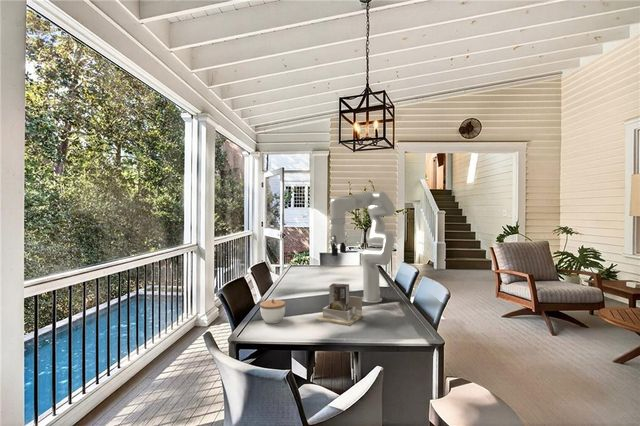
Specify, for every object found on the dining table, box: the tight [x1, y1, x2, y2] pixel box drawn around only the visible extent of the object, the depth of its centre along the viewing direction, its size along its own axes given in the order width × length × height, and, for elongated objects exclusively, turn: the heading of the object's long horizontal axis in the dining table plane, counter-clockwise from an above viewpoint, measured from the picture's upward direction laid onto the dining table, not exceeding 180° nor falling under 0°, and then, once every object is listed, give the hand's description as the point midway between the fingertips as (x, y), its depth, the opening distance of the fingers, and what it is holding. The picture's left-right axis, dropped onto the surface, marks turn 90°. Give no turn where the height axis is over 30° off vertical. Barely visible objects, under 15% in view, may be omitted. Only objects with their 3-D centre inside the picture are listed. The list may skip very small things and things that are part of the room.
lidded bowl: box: [259, 298, 286, 324], centre depth 180 cm, size 13×13×11 cm
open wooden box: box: [315, 295, 363, 327], centre depth 184 cm, size 16×18×10 cm
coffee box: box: [328, 283, 350, 312], centre depth 184 cm, size 9×6×16 cm
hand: (339, 254), depth 190 cm, fingers open, 9 cm apart
